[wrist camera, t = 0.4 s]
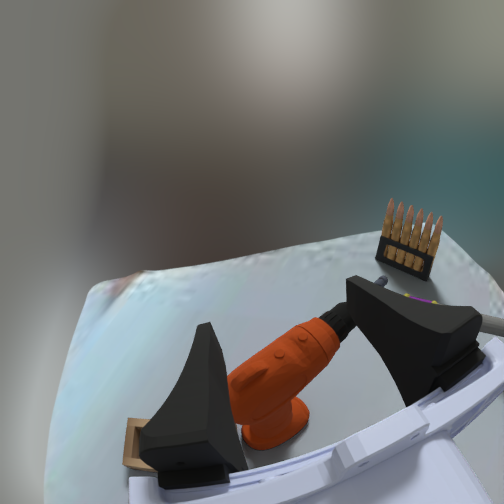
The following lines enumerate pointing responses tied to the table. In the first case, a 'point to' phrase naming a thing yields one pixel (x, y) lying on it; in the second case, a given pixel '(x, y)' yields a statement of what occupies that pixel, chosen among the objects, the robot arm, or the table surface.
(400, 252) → the ammunition clip
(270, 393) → the toy drill
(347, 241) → the table surface
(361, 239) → the table surface
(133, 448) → the rack
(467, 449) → the table surface
